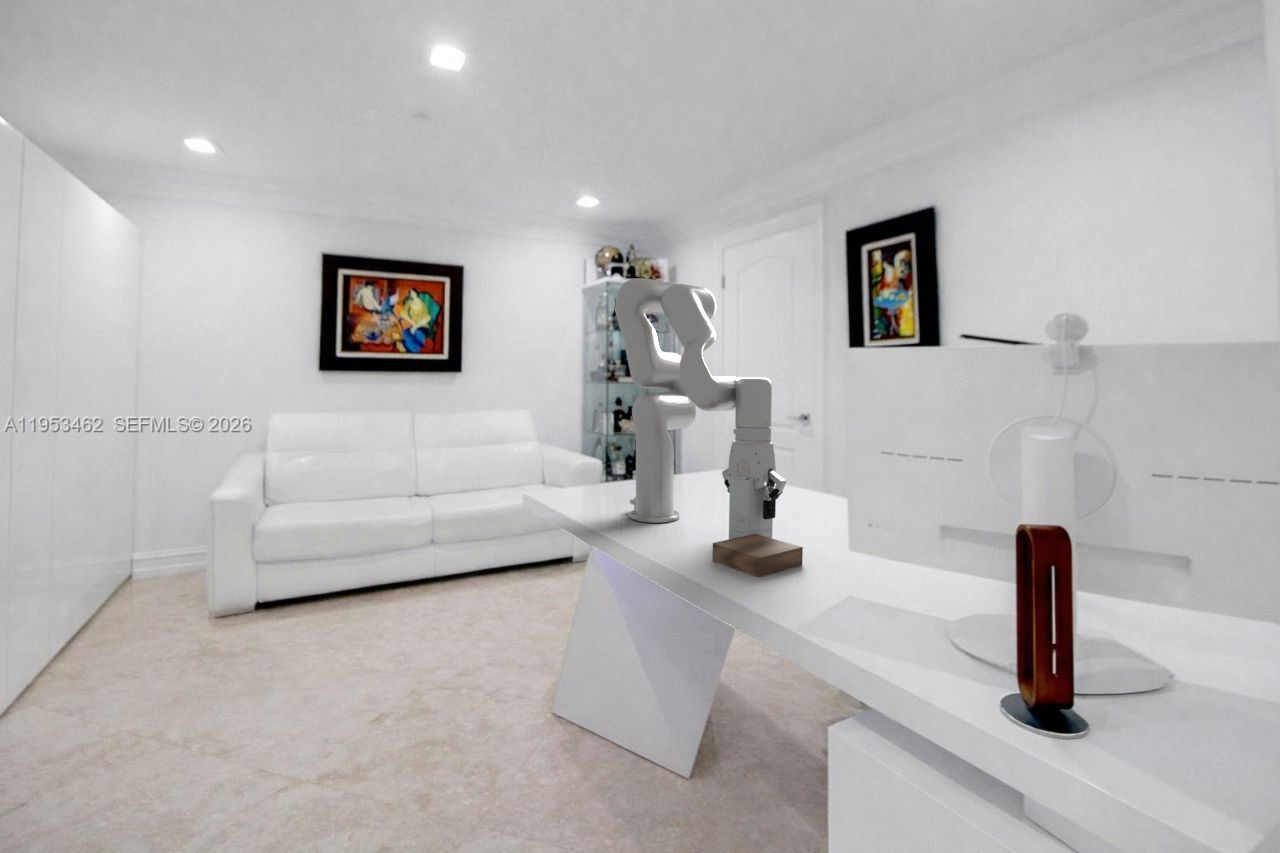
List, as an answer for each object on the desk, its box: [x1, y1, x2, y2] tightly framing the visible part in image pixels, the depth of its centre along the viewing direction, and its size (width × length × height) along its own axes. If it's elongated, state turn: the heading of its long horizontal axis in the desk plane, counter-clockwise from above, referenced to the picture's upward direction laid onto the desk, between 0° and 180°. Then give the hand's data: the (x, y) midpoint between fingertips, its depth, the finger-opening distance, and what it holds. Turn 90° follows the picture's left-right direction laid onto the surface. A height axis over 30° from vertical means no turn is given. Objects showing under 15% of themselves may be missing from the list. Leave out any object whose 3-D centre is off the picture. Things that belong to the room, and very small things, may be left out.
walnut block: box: [712, 534, 804, 578], centre depth 116 cm, size 12×12×4 cm
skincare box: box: [728, 475, 774, 540], centre depth 130 cm, size 8×6×15 cm
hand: (751, 514), depth 130 cm, fingers open, 9 cm apart
